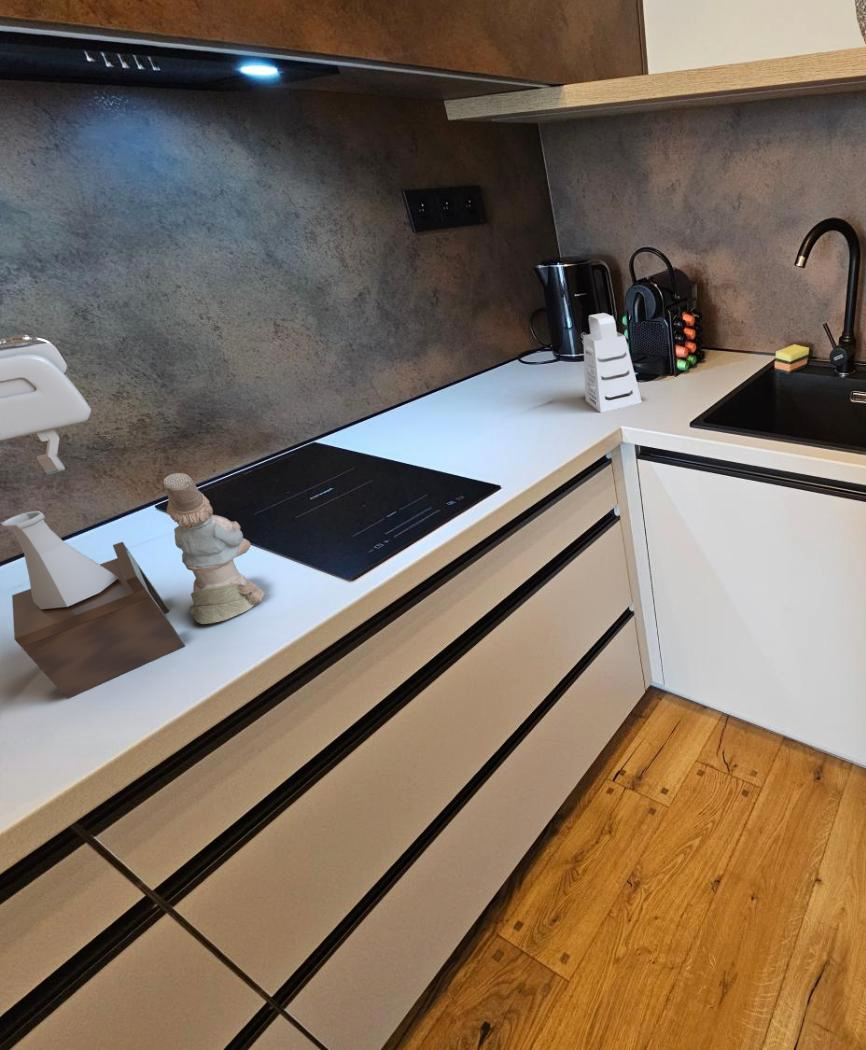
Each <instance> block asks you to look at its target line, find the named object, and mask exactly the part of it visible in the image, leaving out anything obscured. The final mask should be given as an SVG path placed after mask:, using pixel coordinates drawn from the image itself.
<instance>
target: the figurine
mask: <svg viewBox="0 0 866 1050" xmlns="http://www.w3.org/2000/svg"><path fill="white" fill-rule="evenodd" d="M162 483H163V488H164V491H165V494H166V495H167V498H168V501H167V506H166V514H167V515H169V517H170V518H171V520H172V521H174V523H176V524H177V526H176V527H174V529H173V531H174V543H175V546H176V547H177V548H178V549H180V550H181V551H182V553H181V563H183V564H184V566H185V568H186V569H187V570H188V571H192V574H193V575H194V577H195V579H194V581H193V587H192V588H193V590H192V592H191V593H190V596H191V599H192V603H193V604H191V605H189V606H188V609H189V612H190V613H191V614H193V618H194V620H195V621H196V622H197V623H199V624H201V625H207V624H215V623H220V622H222V621H227V620H229V619H231V618H232V619H233V617H236V616H238V615H241V614H243V613H245V612H247V611H249V610H251V609H252V608H253V607H254V606H256V605H258V603H260V602H262V601H263V598H264V596H265V594H266V592H265V590H263V589H262V588H259V586H258V585H257V584H255V583H254V582H252V581H251V580H249V579H247V578H246V576H245V575H244V574H242V573H240V571H239V569H237V566H236V564H235V561H234V559H235V558H238V557H240V556H242V555H244V554H246V553H247V552H248V551H249V550H250V548H251V546H252V545H251V542H250V541H249V540H248V539H246V538H244V535H243V531H241V525H240V524H239V523H238V522H237V521H235V520H234V521H231V520H229V519H228V518H226V517H224V516H221V515H217V514H213V513H214V511H213V507H212V506H211V504H210V500H209V499H208V498H207V497H206V496H205V495H204V493H202V492H201V491H200V490H199V489H198V487H197V486H196V483H195V482H194V480H193V479H192V478H191V477H190V476H189V475H188V474H186V473H182V472H175V473H171V474H169V475H166V476H165V478H164V479H163V482H162Z"/></svg>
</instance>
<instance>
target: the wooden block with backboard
mask: <svg viewBox="0 0 866 1050" xmlns="http://www.w3.org/2000/svg"><path fill="white" fill-rule="evenodd" d="M112 548H113V550H114V553H115V555H116V558H114V559H113V558H112V559H110V560H108V561H105V562H103V563H98V564H99V565H101V566H103V567H104V568H106V569H107V570H109V571H110V572H111V573H113V574H114V575H115V576H117V577H118V579H117V580H115V581H114V582H113V583H112V584H110V585H109V586H108V587H106V588H105V589H104V590H102V591H101V592H100V593H98V594H95V595H93V596H91V597H89V598H86V599H84V600H82V601H79V602H77V603H75V604H73V605H70V606H68V607H59V608H49V609H40V608H39V607H38V606H37V605H36V604H35V603H34V602H33V598H32V593H31V588H28V589H25V590H23V591H20V592H17V593H15V594H12V595H11V599H12V600H11V601H12V618H13V621H12V622H13V632H14V633H13V637H14V641H15V642H16V643H17V644H18V645H19V646H20V647H21V648H22V650H23V651H24V652H25V653H26V655H28V657H29V658H30V659H31V660H32V661H33V662H34V663H35V664H36V666H37V667H38V668H39V669H40V670H41V671H42V673H44V674H45V676H46V677H47V678H48V679H49V680H50V681H51V682H52V683H53V684H54V685H55V687H56V688H57V689H58V690H59V691H60V693H62V694H63V696H64V697H65V698H66V699H68V700H69V699H71V698H73V697H75V696H77V695H80V694H82V693H84V692H86V691H89V690H90V689H93V688H95V687H98V686H100V685H102V684H105V683H106V682H108V681H111V680H113V679H116V678H118V677H120V676H122V675H124V674H127V673H129V672H131V671H134V670H135V669H139V668H140V667H142V666H145V665H147V664H149V663H151V662H153V661H155V660H157V659H158V660H159V659H160V658H162V657H164V656H167V655H169V654H171V653H173V652H176V651H178V650H180V649H183V648H185V647H186V644H185V641H183V639H182V637H181V636H180V635H179V633H178V632H177V630H176V628H175V627H174V626H173V624H172V623H171V621H170V620H169V619H168V617H167V615H165V614H166V613H168V612H170V608H169V607H168V606H167V604H166V602H165V600H163V598H162V596H161V595H160V594H159V593H158V591H157V589H156V588H155V586H154V585H153V583H152V582H151V581H150V580H149V578H148V576H147V575H146V573H145V572H144V571H143V569H142V567H141V566H140V564H139V563H138V561H136V559H135V557H134V556H133V554H132V553H131V552H130V550H129V549H128V547H127V546H126V544H125V543H124V541H121V542H117V543H115V544H112Z"/></svg>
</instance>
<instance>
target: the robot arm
mask: <svg viewBox="0 0 866 1050" xmlns="http://www.w3.org/2000/svg"><path fill="white" fill-rule="evenodd" d="M34 342H37V343H34ZM68 369H69V367H68V362H67V360H66V359H65V357H64V356H63V354H62V352H61V351H60V349H59V348H58V347H57V345H55V343H53V342H51V341H49V340H47V339H44V338H41V337H35V336H29V335H28V334H14V335H13V334H12V335H9V336H8V337H4V338H3V337H2V338H0V441H5V440H8V439H14V438H18V437H21V436H22V437H23V436H27V435H30V434H36V436H37V437H38V439H39V440H40V442H43V443H44V442H47V444H46V452H45V453H44V454H40V455H36V461H37V462H38V463H39V465H40V466H41V467H43V471H44V472H45V474H46V475H50V474H55V473H58V472H61V471H65V470H66V467H65V465H64V463H63V462H62V461H61V459H60V457H59V456H58V451H59V444H60V434H59V432H58V431H57V430H56V429H57V428H62V427H66V426H70V425H75V424H79V423H82V422H86V421H88V420H89V418H90V416H91V414H92V407H91V406H90V405H89V404H88V402H87V400H86V399H85V397H84V396H83V395H82V394H81V392H80V391H79V389H78V388H77V386H76V385H75V384H74V383H73V382H72V381H71V380H70V378H69V377H68V376H67V372H68Z"/></svg>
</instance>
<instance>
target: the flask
mask: <svg viewBox="0 0 866 1050" xmlns="http://www.w3.org/2000/svg"><path fill="white" fill-rule="evenodd" d="M45 518H46V517H45V515H44V513H43V512H41V511H40V510H34V511H26V512H23V513H21V514H20V513H19V514H17V515H14V516H12V517H9V518H8V519H5V520H4V521H2V522H0V525H1V526H2V527H3V528H4V529H6V530H8V531H11V532H12V534H13V536H15V538H16V539H17V541H18V544H19V546H20V548H21V550H22V553H23V555H24V560H25V565H26V569H27V573H28V574H27V575H28V579H29V585H30V589H31V593H32V598H33V602H34V603H35V604H36V605H37V606H38V607H39V608H40V609H49V608H59V607H68V606H70V605H73V604H75V603H77V602H79V601H82V600H84V599H86V598H89V597H91V596H93V595H95V594H98V593H100V592H101V591H102V590H104V589H105V588H106V587H108V586H109V585H110V584H112V583H113V582H114V581H115V580H117V579H118V577H117V576H115V575H114V574H113V573H111V572H110V571H109V570H107V569H106V568H104V567H103V566H101V565H99V564H100V563H98V562H96V561H94V560H93V559H91V558H90V557H88V556H86V555H85V554H83V553H82V552H80V551H79V550H77V549H76V548H74V547H73V546H71V545H70V544H69V543H67V542H65V541H64V540H62V538H60V537H59V536H58V535H57V534H56V533H55V532H54V531H53V530H52V529H51V528H50V527H49V526H48V524H47V523H46V522H45Z"/></svg>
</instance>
